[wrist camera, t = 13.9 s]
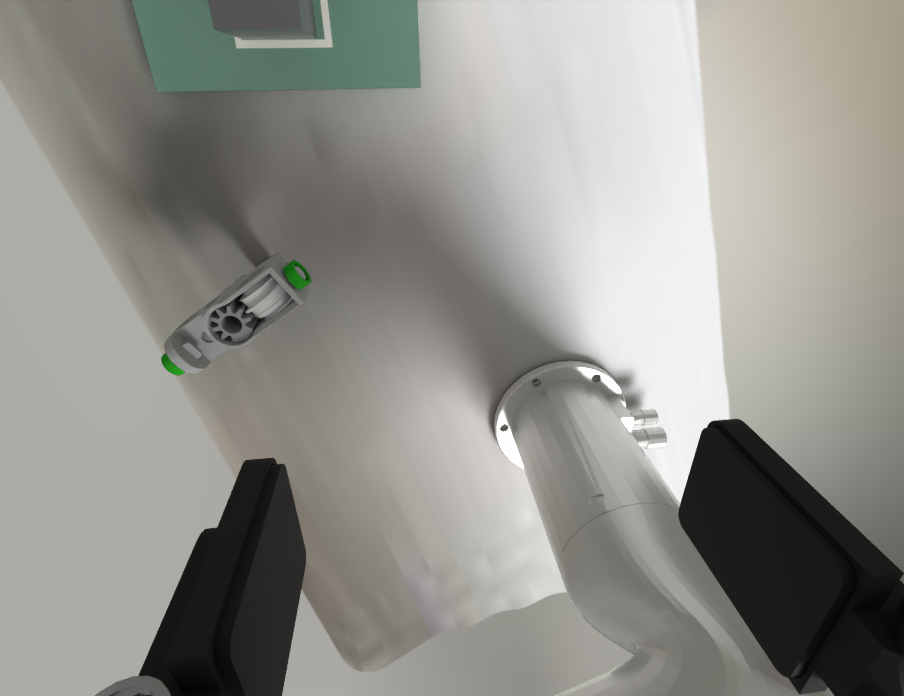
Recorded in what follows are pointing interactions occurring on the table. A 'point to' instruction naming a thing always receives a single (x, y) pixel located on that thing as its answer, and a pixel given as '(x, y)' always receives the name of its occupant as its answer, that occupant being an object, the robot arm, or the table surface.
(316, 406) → the table surface
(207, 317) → the mechanical component
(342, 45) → the board
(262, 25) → the block
